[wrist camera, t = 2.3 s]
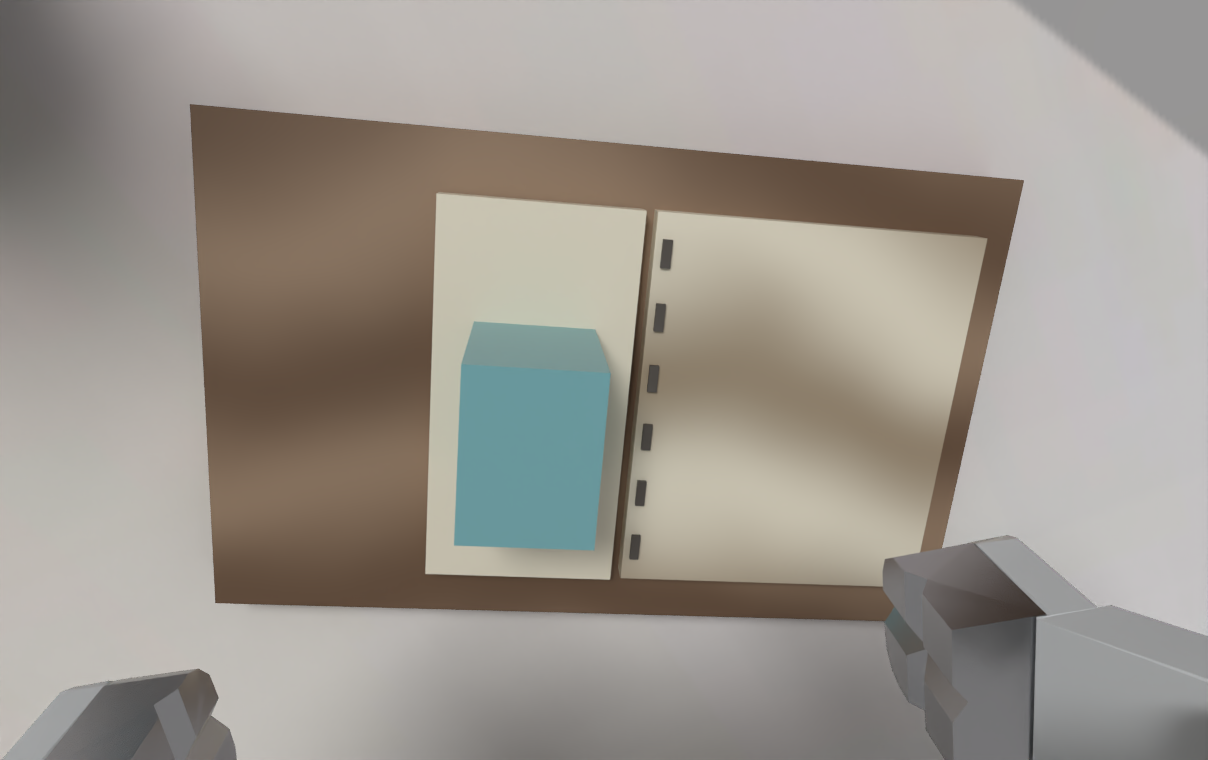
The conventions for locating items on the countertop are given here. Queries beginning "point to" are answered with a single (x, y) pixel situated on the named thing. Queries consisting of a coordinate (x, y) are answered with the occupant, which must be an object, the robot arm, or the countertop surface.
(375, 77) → the countertop surface
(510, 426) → the panel
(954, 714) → the robot arm
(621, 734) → the countertop surface
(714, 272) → the board
